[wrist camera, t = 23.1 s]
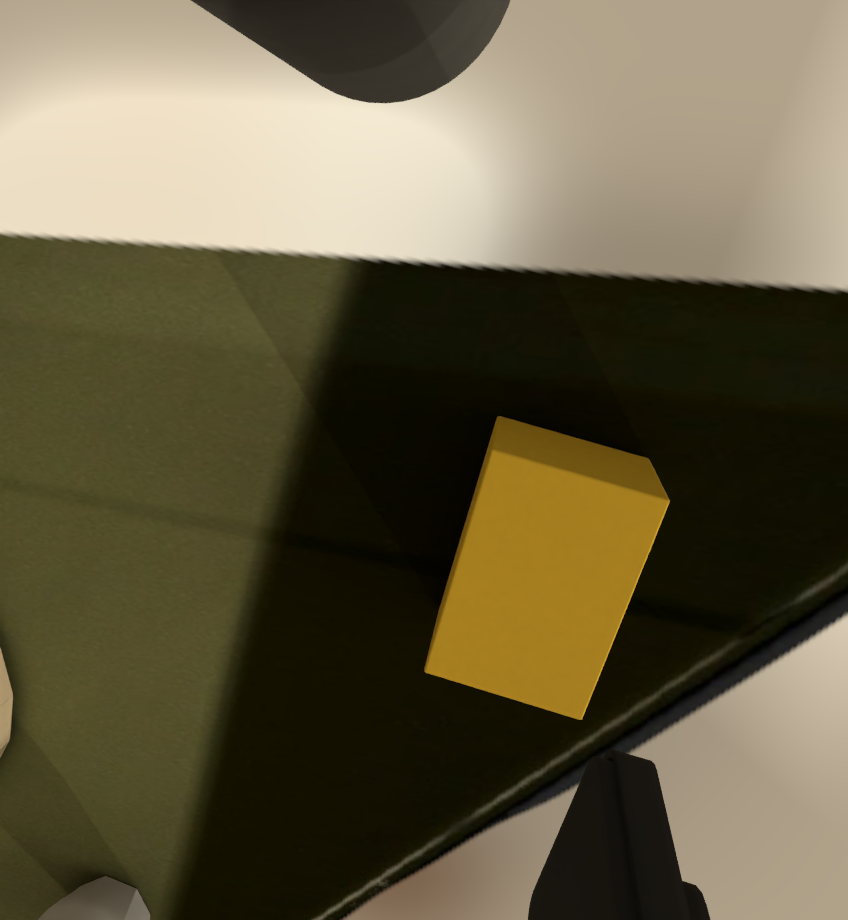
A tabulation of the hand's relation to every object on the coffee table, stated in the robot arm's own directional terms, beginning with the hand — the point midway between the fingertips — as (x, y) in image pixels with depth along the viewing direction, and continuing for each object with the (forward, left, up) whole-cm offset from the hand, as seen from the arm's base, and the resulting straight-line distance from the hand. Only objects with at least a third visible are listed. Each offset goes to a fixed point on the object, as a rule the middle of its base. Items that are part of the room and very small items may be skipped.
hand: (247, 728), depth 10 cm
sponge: (+4, +6, -19) cm, 20 cm away
